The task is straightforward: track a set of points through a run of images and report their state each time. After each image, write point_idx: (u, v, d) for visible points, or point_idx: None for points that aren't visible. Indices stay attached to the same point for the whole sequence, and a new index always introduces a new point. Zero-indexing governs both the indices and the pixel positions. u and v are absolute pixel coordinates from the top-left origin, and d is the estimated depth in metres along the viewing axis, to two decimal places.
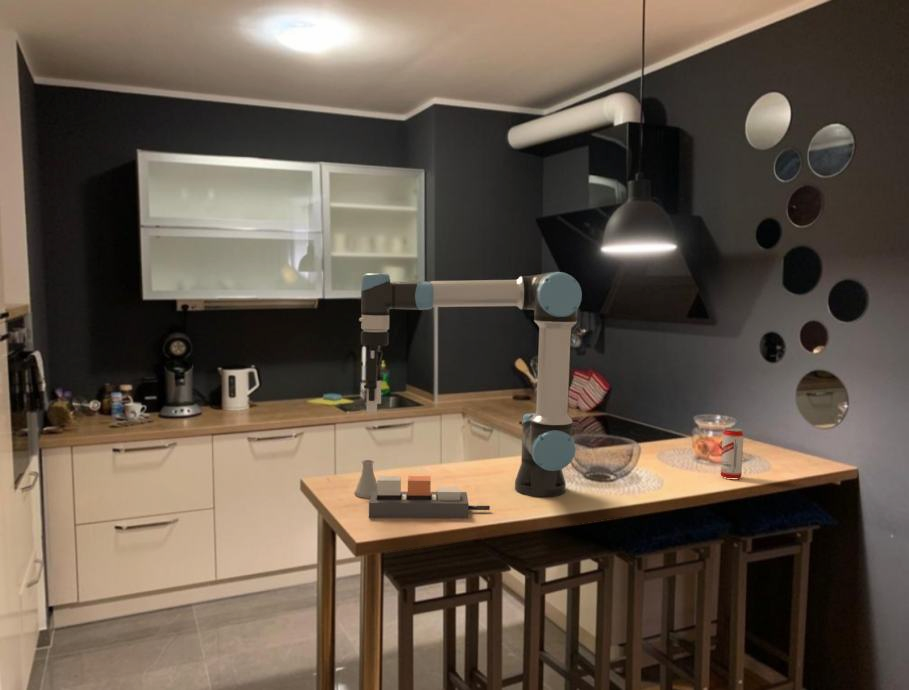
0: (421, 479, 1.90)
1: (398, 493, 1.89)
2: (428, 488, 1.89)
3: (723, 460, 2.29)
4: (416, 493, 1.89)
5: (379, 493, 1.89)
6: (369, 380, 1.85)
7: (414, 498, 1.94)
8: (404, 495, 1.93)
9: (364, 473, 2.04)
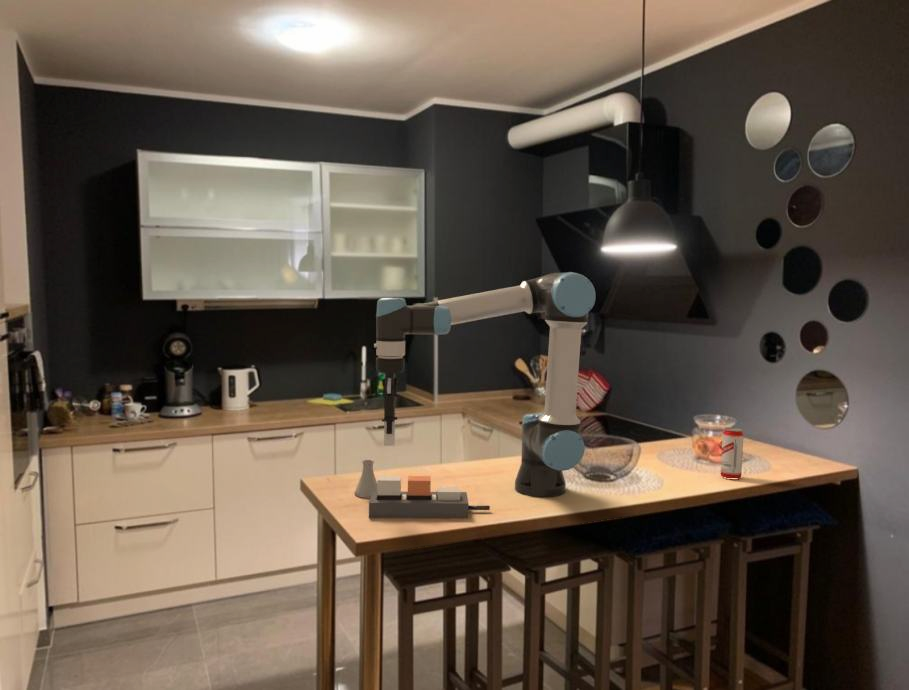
0: (421, 479, 1.90)
1: (398, 493, 1.89)
2: (428, 488, 1.89)
3: (723, 460, 2.29)
4: (416, 493, 1.89)
5: (379, 493, 1.89)
6: (387, 415, 1.85)
7: (414, 498, 1.94)
8: (404, 495, 1.93)
9: (364, 473, 2.04)
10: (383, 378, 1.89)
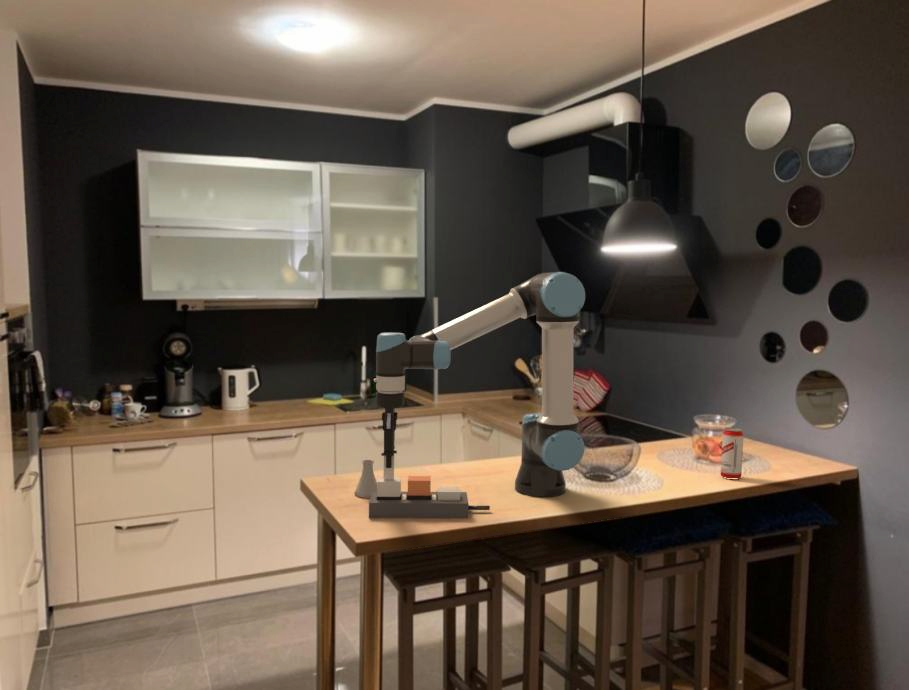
0: (421, 479, 1.90)
1: (398, 494, 1.89)
2: (428, 488, 1.89)
3: (723, 460, 2.29)
4: (416, 493, 1.89)
5: (379, 494, 1.89)
6: (386, 450, 1.86)
7: (414, 498, 1.94)
8: (404, 495, 1.93)
9: (364, 473, 2.04)
10: (383, 412, 1.90)
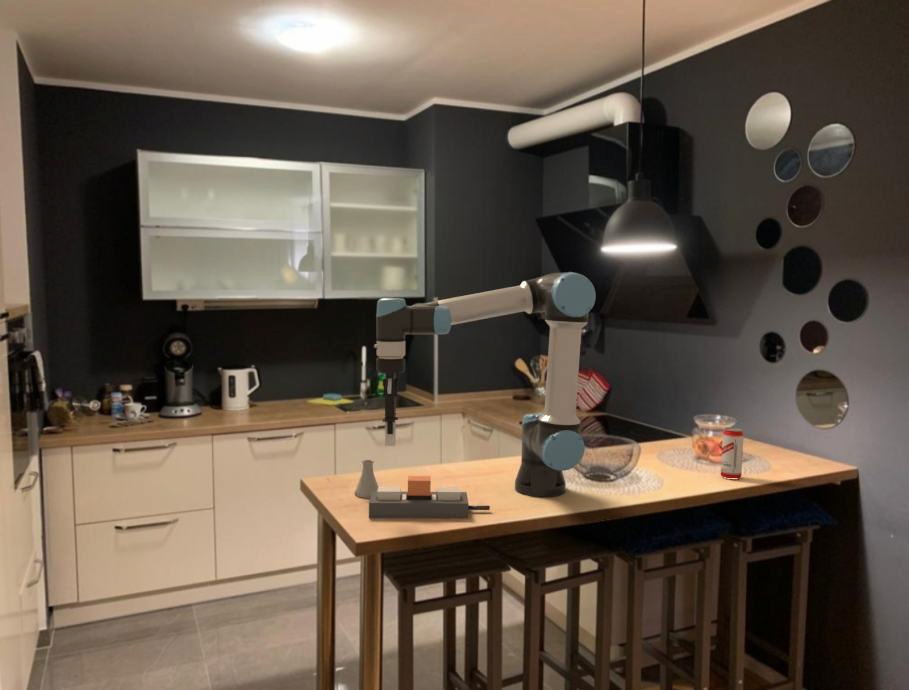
0: (421, 479, 1.90)
1: None
2: (428, 488, 1.89)
3: (723, 460, 2.29)
4: (416, 493, 1.89)
5: None
6: (387, 415, 1.85)
7: (414, 498, 1.94)
8: (404, 495, 1.93)
9: (364, 473, 2.04)
10: (383, 378, 1.89)
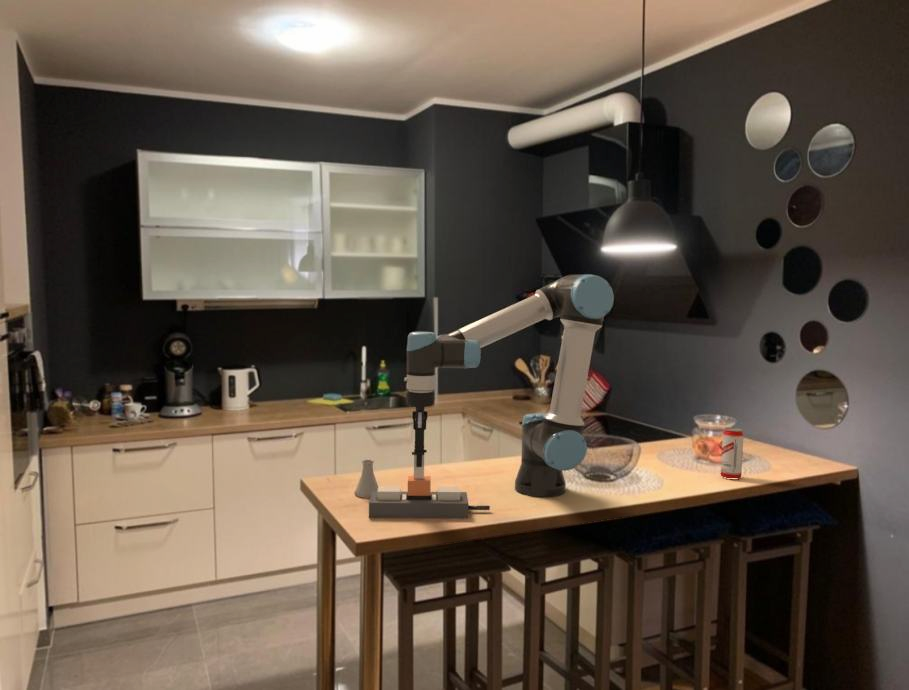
0: (421, 480, 1.90)
1: None
2: (428, 488, 1.89)
3: (723, 460, 2.29)
4: (416, 493, 1.89)
5: None
6: (417, 449, 1.86)
7: (414, 498, 1.94)
8: (404, 495, 1.93)
9: (364, 473, 2.04)
10: (413, 411, 1.90)
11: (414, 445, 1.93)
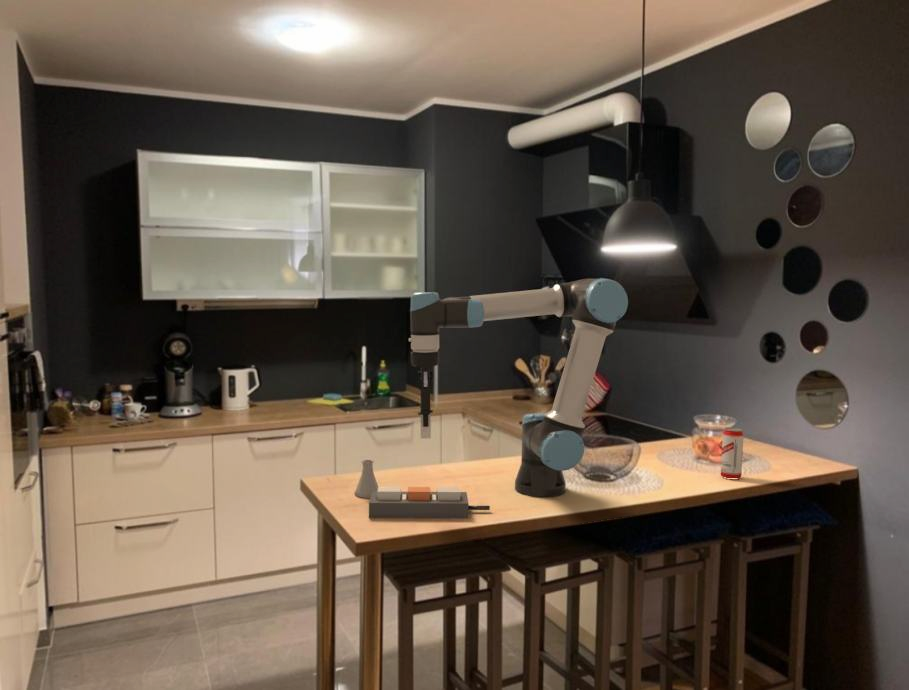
0: (421, 490, 1.90)
1: None
2: (428, 499, 1.89)
3: (723, 460, 2.29)
4: None
5: None
6: (424, 408, 1.87)
7: None
8: (404, 495, 1.93)
9: (364, 473, 2.04)
10: (418, 372, 1.91)
11: (420, 406, 1.94)
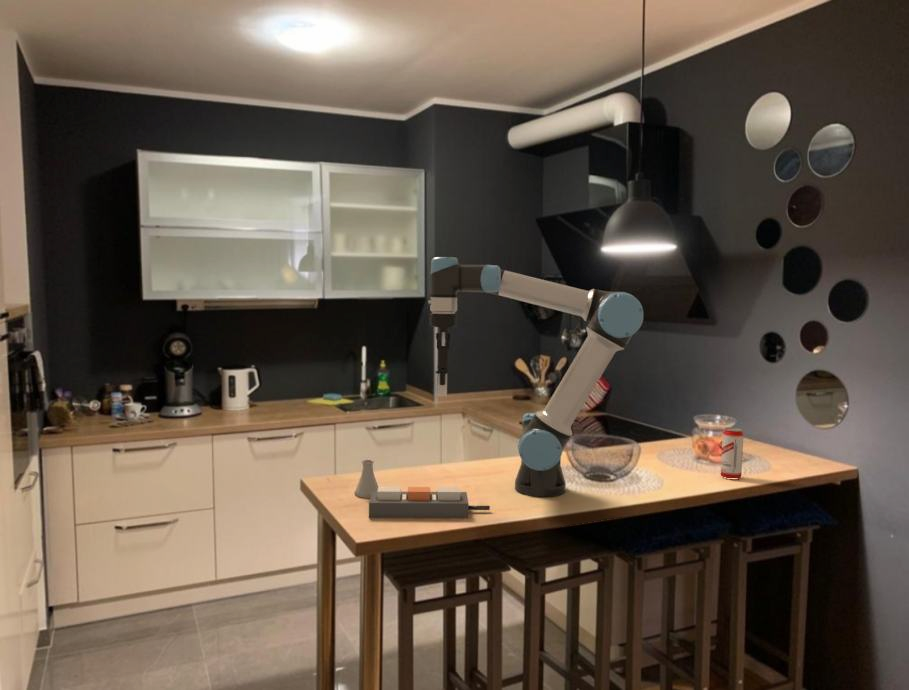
0: (421, 490, 1.90)
1: None
2: (428, 499, 1.89)
3: (723, 460, 2.29)
4: None
5: None
6: (441, 367, 1.98)
7: None
8: (404, 495, 1.93)
9: (364, 473, 2.04)
10: (436, 333, 2.01)
11: None
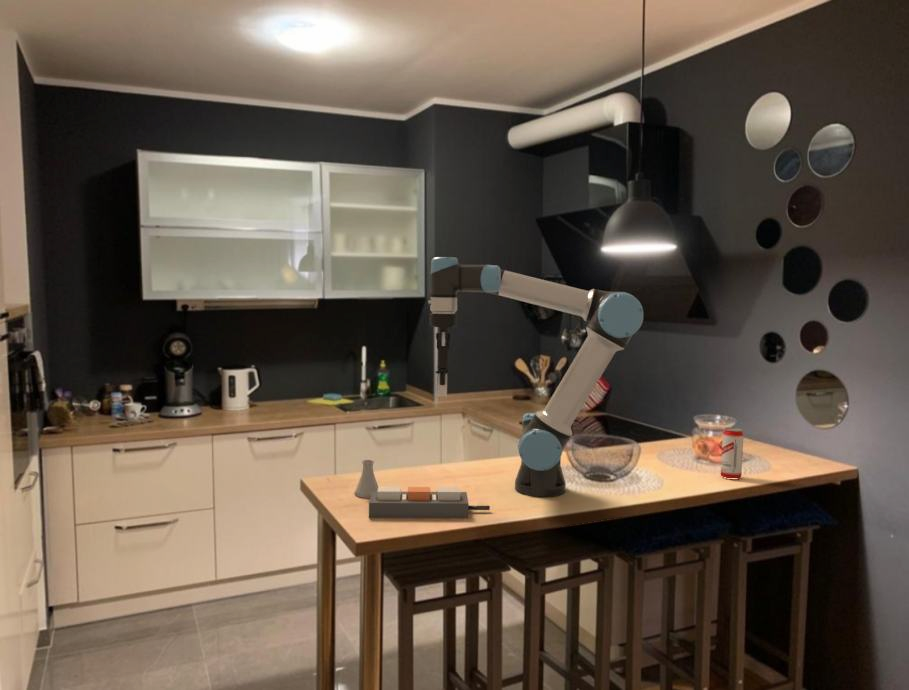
0: (421, 490, 1.90)
1: None
2: (428, 499, 1.89)
3: (723, 460, 2.29)
4: None
5: None
6: (441, 367, 1.98)
7: None
8: (404, 495, 1.93)
9: (364, 473, 2.04)
10: (436, 333, 2.02)
11: None
